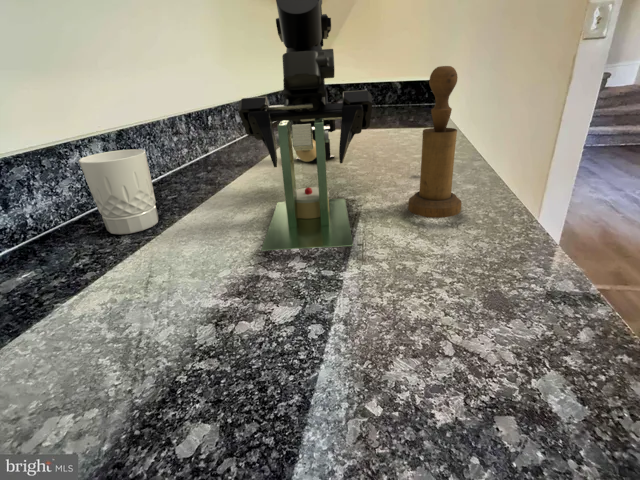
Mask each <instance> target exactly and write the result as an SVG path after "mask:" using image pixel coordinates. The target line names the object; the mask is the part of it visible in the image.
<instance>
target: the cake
mask: <svg viewBox="0 0 640 480" xmlns="http://www.w3.org/2000/svg"><path fill="white" fill-rule="evenodd" d="M296 192H297V198H296V202H297V212H298V218H301V219H313V218H318V217H320V203H319V188H318V187H302V188H297V189H296ZM327 192H328V211H329V199H330V198H329V197H330V191H329V190H328V189H327Z"/></svg>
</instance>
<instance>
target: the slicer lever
mask: <svg viewBox="0 0 640 480" xmlns="http://www.w3.org/2000/svg"><path fill="white" fill-rule="evenodd" d="M312 127H313V126H311V124H299V125H293V124H291V138H292V148H293V150H294V151H295V154H296V156H297V158H299V159H301V160H303V161H302V162H304V161H307V162H306V163H309V162H308V161H312V160H314V159H315V158H316V142H315V140H313V134H312Z"/></svg>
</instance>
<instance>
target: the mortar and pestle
mask: <svg viewBox="0 0 640 480" xmlns="http://www.w3.org/2000/svg"><path fill="white" fill-rule="evenodd" d="M458 79H459V78H458V72H457V70H456V68H454V67H453V66H451V65H439V66H437V67H435V68H434V69H433V70H432V72H431V73H430V76H429V79H428V83H429V84H428V85H429V87H430V89H431V92H432V94H433V96H434V98H435V99H434V100H435V103H434V107H432V108H431V109H430V113H431V118H432V123H433V127H430V128H424V129H422V137H421V139H422V143H421V158H420V159H421V161H420V162H421V163H420V176H419V178H420V179H419V191H417V192H415V193H414V194H413V195H412V196H410V197H409V198H408V201H407V202H408V203H407V209H408V211H409V212H410V213H412V214H414V215H417V216H419V217H424V218H437V219H438V218H439V219H440V218H449V217H454V216H457V215H459V214H460V213H461V211H462V200H461V199H460V198H459V197H458V196H457V194H455V193H454V192H452V190H453V176H454V165H455V155H456V145H457V136H458V129H457V128H453V127H448V124H449V121H450V118H451V115H452V110H453V108H452V107H451V106H450V103H449V100H450V96H451V94H452V92H453V91H454V89H455V87H456V86H457V83H458Z"/></svg>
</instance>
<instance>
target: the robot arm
mask: <svg viewBox="0 0 640 480" xmlns="http://www.w3.org/2000/svg"><path fill="white" fill-rule="evenodd" d="M275 3H276V9H277V15H278V17H276V18H275V25H276V30H277V35H278V37H279V40H280V42H281V43H283V46H284V47H285V48H286V50H285V53H283V54H282V58H281V59H282V74H283V79H282V80H283V97H284V100H286V104H277V105H274V104H273V105H270V104H269V99H268V97H267V96H256V97H254V96H253V97H243V98H241V100H239V102H238V115H239V118H240V120H241V123H242V126H243V128H244V131H245V133H246V136H250V137H254V139H255V140H257V141H262V143H263V144H264V146H265V148H266V149H267V151H268V154H269V156H270V160H271V162H272V165H273V168H278V153H277V143H276V135H275V133H274V123H273V122H281V121H282V120H290V121H291V122H292V125H299V124H311V126H312V134H313V140H315V127H314V123H315V119H316V118H323V120H324V130H328V133H333V132H335V131H336V120H341V121H340V122H341V123H340V135H339V145H338V146H339V147H338V158H339V159H338V160H339V161H338V162H339V164H343V163H344V160H345V158H346V154H347V151H348V149H349V145H350V144H351V142H352V140H353V138H354V136H355V135H358V134H361V133H362V131H363V130H367V129H368V128H370V127H371V118H372V109H373V96H372V95H373V94H371V92H370V91H369V90H368V89H363V90H361V89H360V90H349V91H348V90H346V91H342V102H340V103H339V102H338V103H337V102H336V103H332V102H331V101H330V102H329V99H328V90H327V88H326V84H325V82H326V81H325V80H326V79H333V78H334V79H335V54H334V49H333V48H324V49H323V47H324V40H328V38H329V36H330V35H329V34H330V33H331V31H332V17H329V15H327V13H323V9H322V6H323V0H275ZM325 156H326V161H329V160H333V159H335V158H336V157H335V155H332V154H331V139H330V138H329V142H326V143H325ZM295 159H296V161H299V162H305V163H309V164H317V157H316V158H315V159H314V160H312V161H308V162H307V161H303V160H301V159H299V158H298V157H296V158H295Z"/></svg>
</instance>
